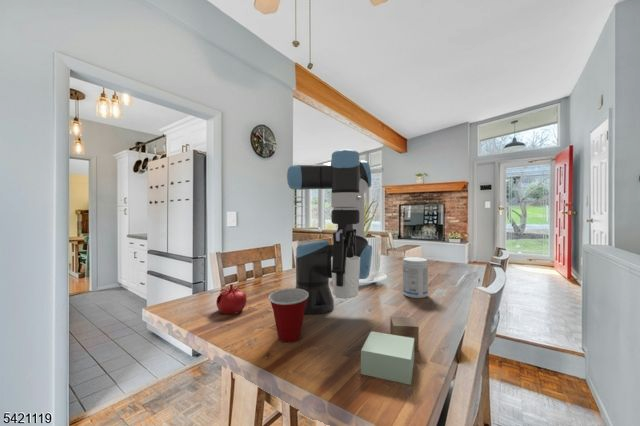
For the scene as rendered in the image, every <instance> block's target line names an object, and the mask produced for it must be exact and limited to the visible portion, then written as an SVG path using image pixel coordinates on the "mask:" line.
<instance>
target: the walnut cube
mask: <svg viewBox="0 0 640 426" xmlns="http://www.w3.org/2000/svg"><path fill="white" fill-rule="evenodd" d="M389 320H390V322H389V323H390V327H389V328H390V329H389V330H390V333H389V334H391V335H397V336H403V337H410V338H414V352H419V345H420V344H419V342H420V341H419V339H420V338H419V333H420V332H419V325H418V323H417V321H416V319H415V317H412V316H411V317H409V316H390V319H389Z"/></svg>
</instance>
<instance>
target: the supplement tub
mask: <svg viewBox="0 0 640 426" xmlns="http://www.w3.org/2000/svg"><path fill="white" fill-rule="evenodd" d="M428 268H429V265H428V259H426V258H423V257H416V256H415V257H414V256H413V257H411V256H409V257H404V258H402V293H403V295H404V296H405V297H408V298H412V299H413V298H414V299H424V298H426V297H428V295H429V277H428V276H429V274H428V272H429V270H428Z"/></svg>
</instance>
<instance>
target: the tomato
mask: <svg viewBox="0 0 640 426" xmlns="http://www.w3.org/2000/svg"><path fill="white" fill-rule="evenodd" d="M226 288H227V289H221V290H220V291H219V292H220V293H219V295H218V296H217V298H216V301H215V302H216V307H217V310H218V311H219V312H220V313H221V314H224V315H233V314H238V313H240V312H241V311H243V309H244V308H245V307H246V305H247V301H248V300H247V299H248V297H247V294H246V293H245V292H244V291H241V290H242V289H244V288H243V287H240V286H238V287H236V286H234V284H233V283H232V284H229V287H228V286H227V287H226ZM239 289H241V290H239Z"/></svg>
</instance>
